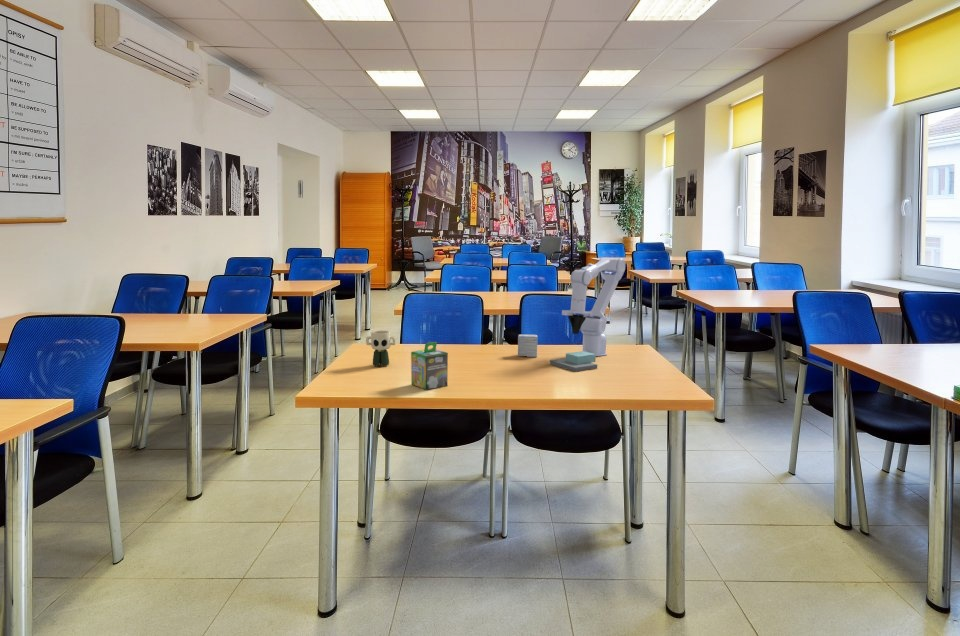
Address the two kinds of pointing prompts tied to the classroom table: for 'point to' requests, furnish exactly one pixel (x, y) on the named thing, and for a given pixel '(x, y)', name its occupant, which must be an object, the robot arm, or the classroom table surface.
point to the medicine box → (527, 345)
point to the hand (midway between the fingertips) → (575, 333)
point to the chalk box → (429, 367)
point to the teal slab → (580, 357)
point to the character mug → (380, 346)
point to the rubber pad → (572, 365)
